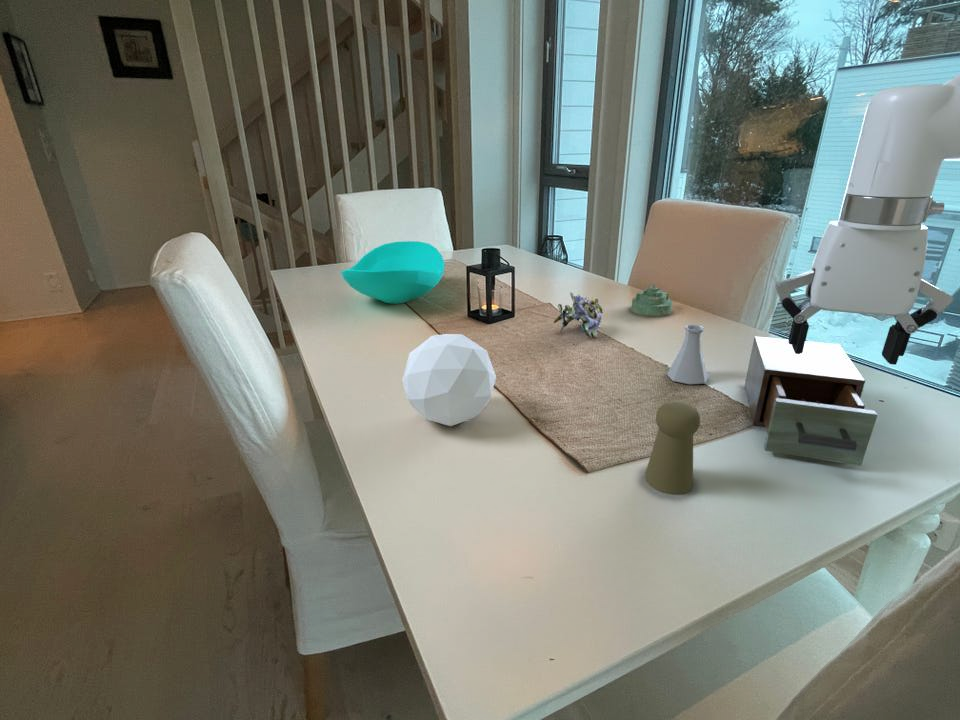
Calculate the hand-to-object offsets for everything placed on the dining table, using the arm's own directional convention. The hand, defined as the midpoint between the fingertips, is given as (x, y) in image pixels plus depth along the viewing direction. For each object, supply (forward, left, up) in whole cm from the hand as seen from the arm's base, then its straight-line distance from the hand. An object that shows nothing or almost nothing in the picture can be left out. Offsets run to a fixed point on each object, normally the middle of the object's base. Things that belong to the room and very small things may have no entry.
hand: (841, 355), depth 63 cm
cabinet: (0, -17, -16) cm, 23 cm away
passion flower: (+40, -42, -17) cm, 60 cm away
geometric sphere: (+52, +3, -17) cm, 55 cm away
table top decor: (+94, -54, -17) cm, 110 cm away
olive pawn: (+18, +9, -17) cm, 26 cm away
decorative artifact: (+25, -65, -17) cm, 71 cm away
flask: (+16, -25, -17) cm, 34 cm away
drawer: (0, -5, -15) cm, 16 cm away
